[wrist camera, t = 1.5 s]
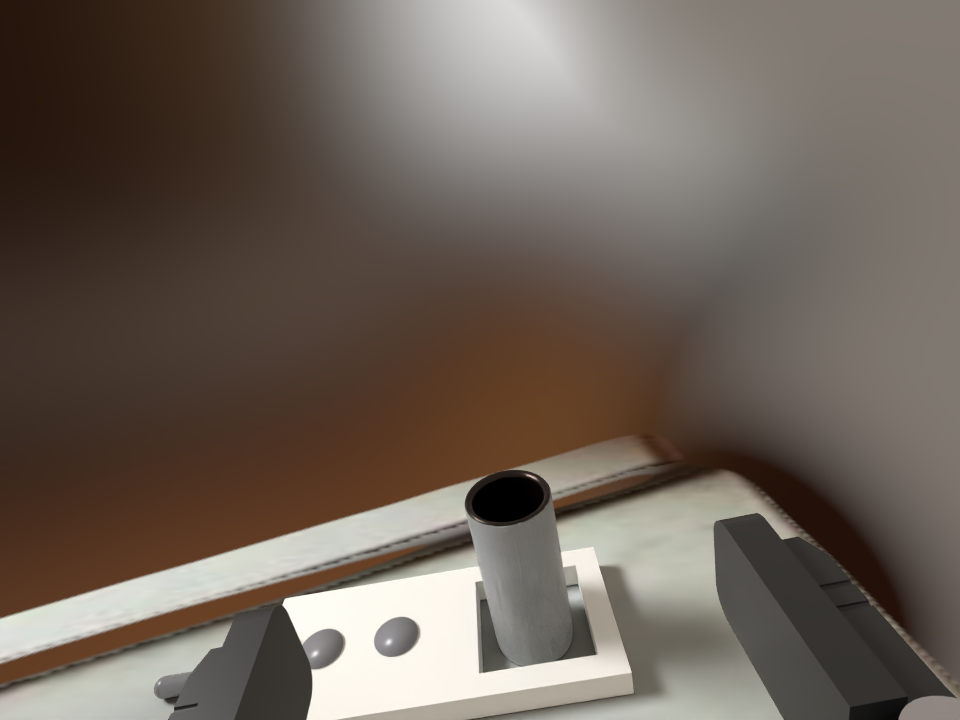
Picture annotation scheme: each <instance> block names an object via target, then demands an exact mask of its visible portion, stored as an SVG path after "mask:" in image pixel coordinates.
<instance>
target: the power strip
mask: <svg viewBox="0 0 960 720" xmlns="http://www.w3.org/2000/svg"><path fill="white" fill-rule="evenodd" d="M561 557H562V563H563V569H564V575H565V581H566V586H569V585H575V584H578V585H579V589H580V593H581V597H582V601H583V605H584V609H585V613H586V617H587V621H588V625H589V629H590V633H591V636H592V640H593V644H594V648H595V652H596V655H592V656H585V657H579V658H573V659H567V660H561V661H554V662H548V663H542V664H536V665H529V666H523V667H517V668H511V669H505V670H498V671H492V672H486V673H483V655H482V634H481V613H480V600H484V599H487V597H486V593H485V589H484V584H483V580H482V576H481V572H480V568H479V566H477V567H471V568H465V569H459V570H453V571H447V572H441V573H435V574H429V575H423V576H417V577H411V578H405V579H399V580H393V581H387V582H381V583H375V584H370V585H364V586H358V587H352V588H346V589H340V590H334V591H328V592H322V593H316V594H310V595H304V596H298V597H292V598H286V599H285V600H284V603H283V607H285V609H286V610H287V612H288V614H289V616H290V619H291V621H292V623H293V625H294V628H295V630H296V632H297V635H298V637H299V639H300V641H301V644H302V646H303V648H304V650H305V653H306V655H307V657H308V660H309V662H310V666H311V671H312V681H313V687H312V697H311V702H310V707H309V711H308V715H307V720H468V719H475V718H481V717H487V716H494V715H500V714H506V713H513V712H519V711H525V710H532V709H538V708H545V707H551V706H557V705H564V704H570V703H576V702H583V701H589V700H595V699H602V698H608V697H614V696H621V695H627V694H633V693H634V690H633V680H632V672H631V669H630V666H629V662H628V659H627V656H626V653H625V649H624V646H623V643H622V640H621V636H620V633H619V630H618V627H617V623H616V620H615V617H614V614H613V610H612V607H611V604H610V601H609V597H608V594H607V591H606V588H605V584H604V581H603V578H602V575H601V571H600V568H599V565H598V562H597V558H596V555H595V552H594V549H593V547H590V548H584V549H578V550H572V551H566V552H561ZM191 673H192V672H187V673H181V674H175V675H169V676H164V677H162V678H160V679H159V680H158V681H157V682H156V684H155V686H154V693H155V695H156V696H157V697H158V698H161V699H165V698H171V697H177V696H179V695H180V693H181V691H182V689H183V687H184V685H185V682H186V680H187V678H188V677H189V675H190V674H191Z"/></svg>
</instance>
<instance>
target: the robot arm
mask: <svg viewBox="0 0 960 720" xmlns="http://www.w3.org/2000/svg"><path fill="white" fill-rule="evenodd" d="M714 548H715V569H716V586H717V592H718V596H719V600H720V603H721V606H722V609H723V611H724V614H725V616H726V618H727V620H728V622H729V624H730V625H731V627H732V629H733V631H734V633H735V634H736V636H737V638H738V640H739V641H740V643H741V645H742V647H743V648H744V650H745V652H746V654H747V655H748V657H749V659H750V661H751V662H752V664H753V666H754V668H755V670H756V671H757V673H758V675H759V677H760V678H761V680H762V682H763V684H764V685H765V687H766V689H767V691H768V692H769V694H770V696H771V698H772V699H773V701H774V703H775V705H776V706H777V708H778V710H779V712H780V714H781V715H782V717H783V719H784V720H960V699H958V698H957V697H955V696H954V695H953V694H952V693H951V692H950V691H949V690H948V689H947V688H946V687H945V686H944V685H943V683H942V682H941V681H940V680H939V679H938V678H937V677H936V676H935V674H934V673H933V672H932V671H931V670H930V669H929V668H928V667H927V665H926V664H925V663H924V662H923V661H922V660H921V659H920V658H919V656H918V655H917V654H916V653H915V652H914V651H913V650H912V648H911V647H910V646H909V645H908V644H907V643H906V642H905V641H904V639H903V638H902V637H901V636H900V635H899V634H898V633H897V632H896V630H895V629H894V628H893V627H892V626H891V625H890V624H889V623H888V621H887V620H886V619H885V618H884V617H883V616H882V615H881V614H880V612H879V611H878V610H877V609H876V608H875V607H874V606H871V605H870V604H869V601H868V599H867V598H866V597H865V596H864V594H863V593H862V592H861V591H860V590H859V589H858V588H857V587H856V585H855V584H854V585H852V583H851V581H850V579H849V578H848V576H847V575H846V574H845V573H844V572H843V571H842V570H841V569H840V567H839V566H838V565H837V564H836V563H835V562H834V561H833V560H832V558H831V557H830V556H829V555H828V554H826V553H824V552H823V551H821V550H819V549H818V548H816V547H815V546H813V545H811V544H810V543H808V542H806V541H805V540H803V539H801V538H800V537H794V538H789V539H784V540H782V539H781V538H780V537H779V535H778V534H777V533H776V532H775V531H774V529H773V528H772V527H771V526H770V524H769V523H768V522H767V521H766V519H765V518H764V517H763V516H762V515H760V514H758V513H755V514H750V515H744V516H739V517H734V518H729V519H724V520H719V521H716V522H715V524H714ZM312 687H313V681H312V671H311V666H310V662H309V660H308V657H307V655H306V653H305V650H304V648H303V646H302V644H301V641H300V639H299V637H298V635H297V632H296V630H295V628H294V625H293V623H292V621H291V619H290V616H289V614H288V612H287V610H286V609H285V607H283V606H282V605H277V606H272V607H267V608H262V609H257V610H252V611H247V612H242V613H239V614H238V615H237V616H236V617H235V619H234V621H233V623H232V625H231V628H230V630H229V632H228V635H227V637H226V639H225V642H224V644H223V647H220V648H215V649H211V650H210V651H209V652H208V654H207V655H206V656H205V657H204V658H203V660H202V661H201V662H200V663H199V664H198V666H197V667H196V668H195V669H194V671H193V672H192V673H191V674H190V675H189V677H188V678H187V680H186V682H185V685H184V687H183V689H182V691H181V693H180V695H179V698H178V700H177V702H176V704H175V706H174V713H172V714H171V715H170V717H169V719H168V720H307V715H308V711H309V707H310V702H311V697H312Z"/></svg>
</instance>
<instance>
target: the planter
mask: <svg viewBox="0 0 960 720" xmlns="http://www.w3.org/2000/svg"><path fill="white" fill-rule="evenodd" d="M465 510H466V514H467V518H468V522H469V527H470V531H471V535H472V539H473V543H474V547H475V551H476V556H477V560H478V564H479V568H480V572H481V576H482V580H483V584H484V589H485V593H486V597H487V601H488V605H489V609H490V613H491V618H492V622H493V626H494V630H495V634H496V638H497V641H498V644H499V647H500V649H501V651H502V653H503V654H504V655H505V656H506V658H508V659H509V660H510V661H511V662H513V663H515V664H517V665H520V666H529V665H536V664H542V663H548V662H554V661H557V660H558V659H560V658H561V657H562V656H563V655H564V654H565V653H566V652H567V650H568V649H569V647H570V645H571V642H572V638H573V626H572V618H571V612H570V606H569V600H568V594H567V587H566V581H565V575H564V569H563V563H562V557H561V550H560V544H559V538H558V532H557V526H556V520H555V513H554V507H553V501H552V495H551V490H550V487H549V485H548V483H547V482H546V481H545V480H544V479H543V478H542V477H540V476H539V475H537V474H534V473H532V472H528V471H523V470H507V471H501V472H497V473H494V474H491V475H489V476H487V477H485V478H483V479H481V480H480V481H479V482H477V483H476V484H475V485H474V486H473V487H472V488H471V489H470V491H469V492H468V494H467V496H466V499H465Z"/></svg>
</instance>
